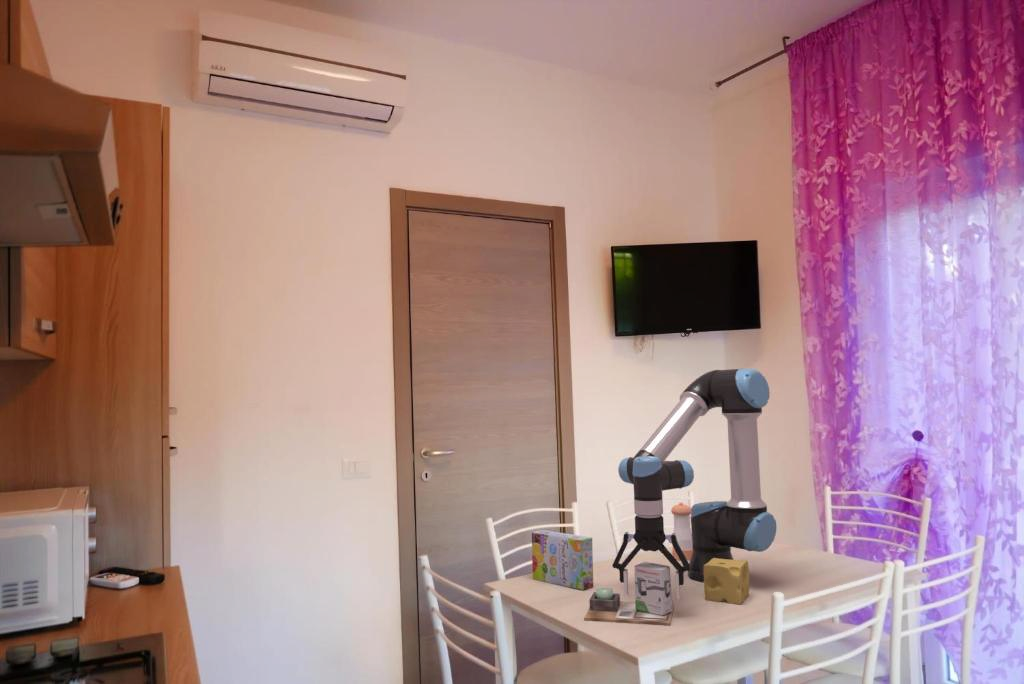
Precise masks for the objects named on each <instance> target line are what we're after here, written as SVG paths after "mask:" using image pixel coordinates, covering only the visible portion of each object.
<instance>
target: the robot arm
mask: <svg viewBox="0 0 1024 684" xmlns="http://www.w3.org/2000/svg"><path fill="white" fill-rule="evenodd" d="M769 386H770V385H769V384H768V381H767V379H766V377H765V376H764V375H763V374H762V373H761V372H760V371H759V370H757V369H755V368H754V369H753V368H736V369H735V368H733V369H715V370H711V371H707V372H706V373H705V372H704V373H703V374H702V375H700V376H699V377H698V378H696V379H695V380H694V381H692V382H691V383H690V384H689V385H688V386H687V387H685V389H684V390H683V391H682V393H681V394H680V395H679V401H678V403H677V404H676V405H675V406H674V408H673V409H672V410H671V411H670V412H669V414H667V416H666V417H665V418H664V420H663V421H662V422H661V423H660V425H659V426H658V427H657V428H656V429H655V431H654V432H653V433H652V434H651V435H650V437H649V438H647V439H648V440H647V441H645V443H644V444H643V445H642V447H641V448H640V449H639V451H638V452H637V453H636V454H635V455H634V456H633V457H631V456H629V457H624V458H623V459H622V460H621V461H620V462H619V464H618V470H617V471H618V476H619V477H620V479H621V481H623V482H624V483H627V484H631V485H633V506H634V514H635V516H634V530H635V531H634V533H629V532H628V531H626V532H624V534H623V539H622V543H621V545H620V548H619V550H618V552H617V555H616V556H615V559H614V561H613V563H612V566H611V567H612V568H613V569H617V570H618V571H619V572H618V573H619V582H620V583H623V592H624V594H623V596H624V597H628V595H629V576H628V575H629V573H628V568H626V567H627V566H628V565H629V564H630V563H631V561H632V560H633V559H634V558H635V557H636V555H637V554H638V553H639V552H640V551H641V550H642V551H644V552H648V551H650V552H657V551H658V552H660V553H661V554H662V555H663V556H664V557H665V558H666V559H667V560H668V562H669V563H670V564H671V565H672V566H673V568H674V569H675V570H676V571H675V591H676V592H675V593H676V600H680V598H681V586H683V585H684V584H685V578H684V577H685V576H684V573H685V572H687V577H688V578H689V579H691V580H694V581H698V582H703V583H704V573H703V569H704V565H705V564H706V563H708V562H709V561H710V560H711V559H713V558H718V559H728V560H735V559H734V557H733V555H732V552H731V551H732V550H731V549H732V548H734V549H735V548H736V549H738V550H739V549H740V550H745V551H748V552H757V553H761V552H764V551H766V550H768V549H769V548H770V547H771V545H772V544H773V542H774V541H775V539H776V538H775V537H776V534H777V521H776V519H775V517H774V515H773V514H772V513H770V512H768V507H767V506H768V505H767V503H766V502H765V501H764V500H762V493H761V492H762V491H761V489H762V488H761V475H760V453H759V450H760V449H759V432H758V431H759V430H758V418H759V417H761V415H762V413H763V408H764V407H765V406H767V404H768V403H769V400H770V395H771V394H770V387H769ZM714 408H721V415H722V416H723V417H725V418H726V420H727V436H728V437H727V438H728V440H727V441H728V459H729V460H728V461H729V463H728V464H729V481H730V483H729V485H730V499H729V500H728V501H725V500H720V501H717V500H716V501H705V502H704V501H703V502H698V503H695V504H693V505H692V507H690V508H691V514H690V528H691V533H692V547H693V551H692V555H691V559H690V560H689V561H687V559H686V557H685V555H684V554H683V552H682V550H681V548H680V546H679V544H678V542H677V538H676V534H675V533H674V532H672V534H666V533H665V525H664V516H662V515H663V514H664V502H663V501H664V500H663V491H668V490H675V489H679V490H680V489H683V488H686V487H688V486H690V485H691V484H692V483H693V481H694V477H695V473H694V469H693V466H692V465H691V463H690V462H688V461H686V460H679V459H676V460H667V458H668V457H669V456H670V454H672V452H673V451H674V450H675V448H676V447H677V446H678V444H680V442H681V440H682V439H684V436H685V435H686V434H687V433H688V432H689V430H690V429H691V428H692V427H693V425H694V424H695V423H696V421H697V420H698V419H699V418H700V417H703V416H705V415H706V414H707V413H708V412H709V411H710V410H712V409H714ZM633 539H634V542H636V545H635V547H634V548H633V550H631V552H630V553H629V554H628V555H627V557H626V558H625V559H624V560H623V561H622V563H620V561H621V559H622V557H623V555H624V552H625V551H626V550H625V549H626V548H627V545H628V543H630V542H631V541H632V540H633ZM665 541H668V543H669V544H671V545H672V548H673V547H674V549H675V551H676V553H677V555H678V557H679V559H680V560H676V559H675V558H674V557H673V553H671V552H670V551H669V550H668V548H667V547H666V545H664V543H665ZM679 561H681V563H680V562H679ZM681 564H682V565H681Z"/></svg>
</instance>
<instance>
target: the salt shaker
mask: <svg viewBox="0 0 1024 684" xmlns="http://www.w3.org/2000/svg"><path fill="white" fill-rule="evenodd" d="M691 508H692V507H690V506H689V505H687V504H684V503H683V502H679V503H678V504H675V505H673V506H672V507H671V511H670V513H672V515H673V533H675V534H676V538H677V542H678V544H679V546H680V548H681V550H682V552H683V554H684V555H685V557H686V559H687V560H689V561H690V559H691V555H692V551H693V547H692V530H691ZM672 555H673V557H674V558H675V559H676V560H677V561H681V560H680V559H679V557H678V555H677V553H676V551H675V549H674V547H673V546H672Z"/></svg>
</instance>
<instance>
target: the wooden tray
mask: <svg viewBox="0 0 1024 684" xmlns="http://www.w3.org/2000/svg"><path fill="white" fill-rule="evenodd" d="M620 594H621V593H614V592H613V600H604V599H597V592H593V593H592V595H591V596H590V598H589V601H588V603H589V608H588V610H587V612H586V613H585V615H584V617H583V620H584V621H590V622H591V621H593V622H608V623H622V624H623V623H627V624H639V625H640V624H642V625H656V626H657V625H658V626H659V625H660V626H671V624H672V618H673V613H674V607H675V604H674V603H671V612H669V613H667V614H665V615H659V614H654V613H649V612H644V611H639V610H636V606H635V601H621V595H620Z"/></svg>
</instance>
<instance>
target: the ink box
mask: <svg viewBox="0 0 1024 684" xmlns="http://www.w3.org/2000/svg"><path fill="white" fill-rule="evenodd" d="M671 580H672V579H671V566H669V565H665V564H659V563H653V562H648V561H643V562H640V563H638V564H636V565H634V593H635V594H634V597H635V598H634V600H635V601H634V602H635V606H636V610H639V611H644V612H649V613H654V614H659V615H665V614H667V613H669V612H671V604H672V585H671V583H672V582H671Z"/></svg>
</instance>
